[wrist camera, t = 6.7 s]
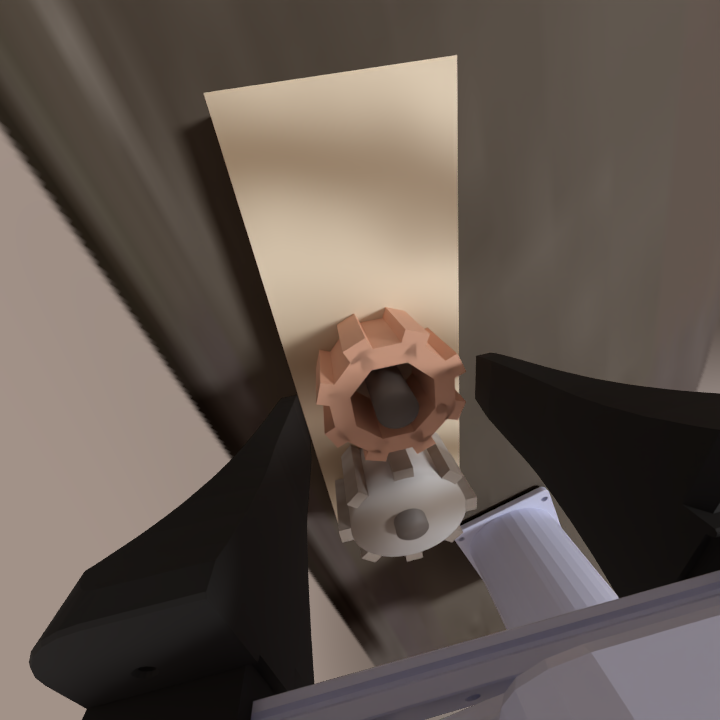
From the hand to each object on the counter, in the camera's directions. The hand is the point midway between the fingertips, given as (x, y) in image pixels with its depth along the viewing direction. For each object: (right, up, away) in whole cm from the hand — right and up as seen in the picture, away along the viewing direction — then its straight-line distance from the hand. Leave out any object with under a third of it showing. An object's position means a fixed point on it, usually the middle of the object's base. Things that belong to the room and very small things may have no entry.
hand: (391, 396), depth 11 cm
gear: (0, +1, +2) cm, 2 cm away
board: (-1, +2, +4) cm, 4 cm away
